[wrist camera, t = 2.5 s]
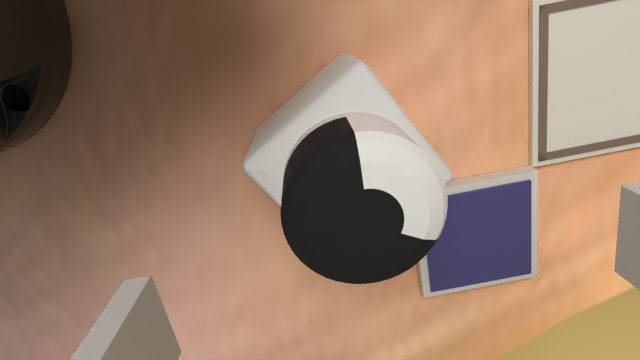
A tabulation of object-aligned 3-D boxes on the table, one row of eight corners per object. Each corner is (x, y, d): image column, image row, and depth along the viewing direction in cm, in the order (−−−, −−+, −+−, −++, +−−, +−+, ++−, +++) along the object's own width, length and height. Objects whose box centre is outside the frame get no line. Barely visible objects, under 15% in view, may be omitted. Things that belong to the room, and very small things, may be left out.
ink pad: (419, 289, 30) (424, 299, 28) (407, 188, 27) (412, 195, 26) (529, 268, 29) (538, 278, 28) (529, 165, 27) (539, 171, 25)
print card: (529, 165, 27) (533, 167, 26) (528, 0, 23) (533, 0, 23) (682, 135, 26) (689, 137, 26) (705, -35, 23) (714, -37, 22)
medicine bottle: (329, 209, 27) (353, 339, 16) (253, 129, 25) (218, 216, 14) (416, 139, 26) (510, 228, 14) (343, 49, 23) (387, 70, 12)
